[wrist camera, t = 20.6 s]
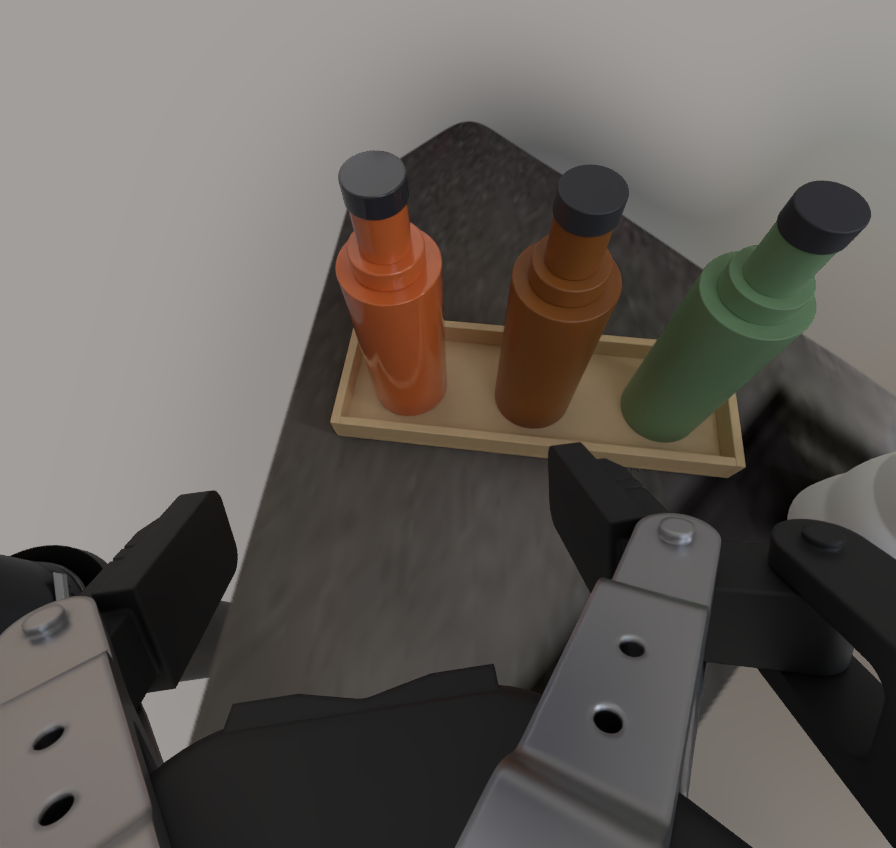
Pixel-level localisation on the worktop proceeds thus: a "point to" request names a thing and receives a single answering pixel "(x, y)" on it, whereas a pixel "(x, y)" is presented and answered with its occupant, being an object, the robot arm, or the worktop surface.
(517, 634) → the worktop surface
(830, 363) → the worktop surface
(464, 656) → the worktop surface
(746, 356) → the sage bottle
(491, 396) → the tray
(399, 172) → the terracotta bottle
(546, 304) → the amber bottle
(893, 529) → the water bottle
